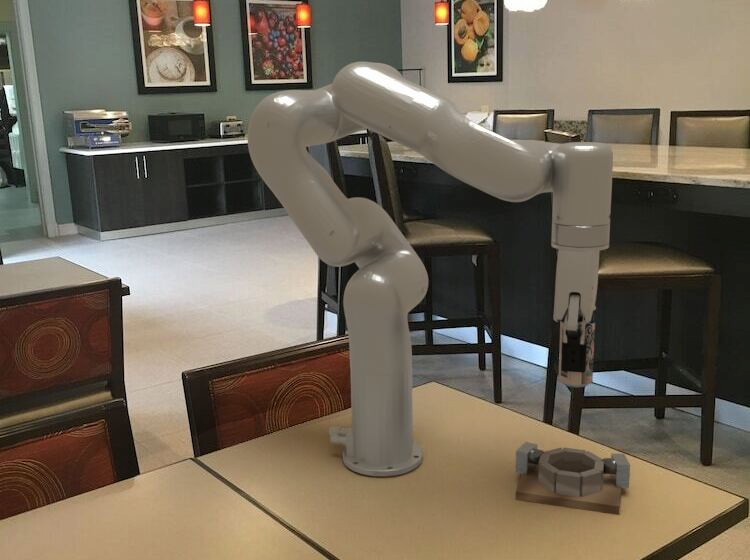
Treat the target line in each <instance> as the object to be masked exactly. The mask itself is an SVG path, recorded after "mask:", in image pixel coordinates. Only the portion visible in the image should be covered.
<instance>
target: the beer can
mask: <svg viewBox="0 0 750 560" xmlns="http://www.w3.org/2000/svg"><path fill="white" fill-rule="evenodd" d="M580 299H581V297H580ZM596 311H597V306H596V305H595V306H594V310H593V314H592V318H591V321H590V322H589V323H587V324H586V330H585V343H586V344H587V351H586V370H585V372H584V373H581V372H569V371H563V370H562V369H561V361H562V342H563V338H564V321H565V314H564V316H563V318H562V320H559V322H560V323H559V325H560V326H559V351H558V352H559V353H558V377H557V380H558V381H559V382H560V383H562V384H563V385H564V386H566V387H569V388H570V387H571V388H584V387H587V386H588V385H590V384H592V383H593V382H594V380H593V376H594V352H595V336H596V335H595V333H596V331H595V330H596ZM578 321H583V317H579V318H578ZM578 329H580V331H581V326H578Z"/></svg>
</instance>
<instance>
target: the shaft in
mask: <svg viewBox="0 0 750 560" xmlns="http://www.w3.org/2000/svg"><path fill="white" fill-rule="evenodd" d="M543 452H545V451H544V450H542V449H538V443H533V442H531V441H530V442H529V441H525V442H524V443H523V444H521V446H520V447H518V448H517V449H516V450H515V473H517V474H520V475H522V474H524V475H528V474H529V473H530V472H531V471H532V470H533V469H534V468H535V467H536V466H537V465H539V460H540V457H541V454H542V453H543Z"/></svg>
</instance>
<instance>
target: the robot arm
mask: <svg viewBox="0 0 750 560" xmlns="http://www.w3.org/2000/svg"><path fill="white" fill-rule="evenodd" d="M457 108H458V107H456V105H455V104H454V103H453V101H451V100H450V99H449V98H448V97H446V96H444V95H442V94H440V93H437V92H436V91H433V90H431V89H428V88H426V87H424V86H421V85H419V84H417V83H415V82H413V81H411V80H409V79H406V78H404V76H403V75H402V74H401V72H400V71H399V70H398V69H396V68H395V67H394V66H391V65H390V64H389V65H388V64H386V63H382V62H371V61H356V62H351V63H349V64H347V65H345V66H343V68H341V69H340V70H339V71H338V72H337V74H336V75H335V77H334V78H333V81H332V83H330V84H327V85H325V86H322V87H320V88H317V89H311V90H310V89H307V90H306V89H289V90H288V89H287V90H281V91H280V90H279V91H277V92H274V93H271V94H270V95H269V94H268V95H267V96H265V97H264V98H263V99H262V100H261V101H260V102H259V103H258V104H257V105H256V107H255V108H254V110H253V112H252V113H251V116H250V119H249V123H248V128H247V147H248V152H249V156H250V159H251V161H252V164H253V166H254V168H255V169H256V171H257V173H258V175H259V176H260V177H261V179H262V180H263V182H264V183H265V184H266V185H267V187H268V188H269V190H270V191H271V192H272V193H273V194H274V196H275V197H276V199H277V200H278V201H279V203H280V204H281V206H282V207H283V208H284V210H285V211H286V213H287V215H288V216H289V218H290V219H291V221H292V222H293V224H294V225H295V226H296V227H297V229H298V230H299V232H300V234H301V235H302V236H303V238H305V241H306V242H307V243H308V244H309V246H310V248H311V249H312V250H313V251H314V253H315V254H316V255H317V257H318V258H319V259H320V260H321V262H324V263H325V264H326V265H328V266H331V267H335V268H336V267H338V268H339V267H345V266H349V265H351V264H353V263H355V264H356V266H357V267H358V270H356V272H355V273H353V275H352V276H351V278H350V279H349V280H348V281H347V284H346V286H345V289H344V291H343V292H344V293H343V298H342V299H343V301H342V302H343V313H344V317H345V322H346V327H347V336H348V345H349V367H350V368H349V369H350V371H349V372H350V400H351V401H350V402H351V403H350V405H351V409H350V410H351V426H349V427H346V428H345V427H342V426H337V425H335V426H333V425H331V426H330V427H329V429H328V436H329V438H330V439H329V441H330V444H332V445H333V444H334V445H343V446H344V450H343V452H342V462H343V464H344V465H345V466H346V467H347V468H348V469H349V470H351V471H353V472H356V474H360V475H364V476H370V477H380V478H381V477H394V476H399V475H403V474H406V473H409V472H411V471H413V470H415V469H416V468H418V467H419V466H420V465H421V463H422V462H423V459H424V456H423V454H424V452H423V449H422V447H420V445H419V444H417V443H416V442H415V441H414V439H413V438H414V437H413V436H414V435H413V434H414V431H413V430H414V429H413V427H414V426H413V420H414V419H413V414H414V412H413V351H412V350H413V349H412V339H411V333H410V328H409V323H408V322H409V321H408V315H409V313H410V312H411V311H412V310H413V309H414V308H415V307H417V306H418V305H419V304H420V303H421V302H422V300H423V299H424V298H425V296H426V295H427V292H428V288H429V275H428V272H427V270H426V267H425V265H424V263H423V261H422V259H421V258H420V257H419V255H418V254H417V252H416V251H415V250H414V248H413V246H412V245H411V244H410V242H409V241H408V240H407V238H406V236H404V234H403V233H402V231H401V229H399V227H398V226H397V224H396V223H395V222H394V220H393V219H392V217H391V216H390V215H389V213H388V212H387V211H386V210H385V209H384V208H383V207H382V206H380V205H379V204H378V203H377V202H375V201H373V200H371V199H369V198H366V197H360V196H359V197H357V196H356V197H351V198H348V197H347V196H346V195H345V194H344V193H343V192H342V191H341V189H340V188H339V187H338V185H337V184H336V183H335V182H334V180H333V178H332V176H331V175H330V174H329V172H328V171H327V170H326V169H325V168H324V167H323V166H322V164H320V163H319V162H318V161H317V160H316V159H315V158H314V157H312V155H311V154H310V153H309V152H308V150H307V147H315V146H321V145H324V144H328V143H332V142H335V141H337V140H339V139H340V140H341V139H342V138H345V137H347V136H350V135H352V134H355V133H358V132H361V131H363V130H366V129H368V130H370V131H371V132H373V133H376V134H378V135H380V136H383V137H384V138H386V139H389V140H391V141H393V142H395V143H397V144H399V145H401V146H403V147H405V148H407V149H409V150H411V151H413V152H415V153H417V154H419V155H421V156H422V157H423V158H424V159H426V160H427V161H429V162H430V163H432V164H433V165H435V166H437V167H438V168H440V170H442V171H444V172H445V173H447V174H448V175H450V176H452V177H453V178H456V179H457V180H458V181H461V182H463V183H465V184H467V185H469V186H471V187H473V188H475V189H478V190H479V191H482V192H483V193H486V194H488V195H490V196H492V197H495V198H497V199H499V200H502V201H506V202H511V203H521V202H525V201H528V200H530V199H532V198H534V197H536V196H537V195H540V194H543V193H552V212H551V214H552V216H551V217H552V218H551V244H550V245H551V247H552V248H554V249H556V250H558V252H557V258H556V259H557V261H556V271H555V285H554V286H555V287H554V289H555V290H554V302H553V303H554V305H553V306H554V307H553V321H555V322H556V323H559V322H560V320H562V318H563V316H564V314H565V321H564V338H563V342H562V361H561V369H562V370H563V371H569V372H581V373H584V372H585V370H586V351H587V344H586V343H585V330H586V324H587V323H589V322H590V321H591V318H592V314H593V310H594V306H596V301H597V292H598V284H599V270H600V269H599V267H600V251H605V250H607V249H609V248H610V234H611V233H610V231H611V209H612V208H611V207H612V193H613V192H612V189H613V186H612V185H613V170H614V169H613V168H614V153H613V152H614V151H613V150H612V148H611V146H609V144H607V143H604V142H595V141H575V142H574V141H573V142H566V143H558V142H548V141H542V140H535V139H526V140H525V139H524V140H521V141H515V140H513V139H509V138H508V137H505V136H502V135H501V134H498V133H497V132H494V131H492V130H491V129H488V128H485V127H484V126H482V125H480V124H478V123H476V122H474V121H472V120H471V119H469V118H468V117H466V116H465V115H463V114H462V113H461V112H460V111H459V109H457ZM580 297H581V299H580ZM579 317H583V321H578V318H579ZM578 326H581V331H580V329H578Z"/></svg>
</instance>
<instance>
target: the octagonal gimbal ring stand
mask: <svg viewBox="0 0 750 560" xmlns="http://www.w3.org/2000/svg"><path fill="white" fill-rule="evenodd" d="M621 495H622V488H616V487H615V485H614V482H613V480H612V478H611V476H610V474H604V461H603V458H601V457H599V456H598V455H596V454H594V453H593V452H591V451H589V450H587V451H586V449H578V448H570V447H563V448H562V447H558V448H554V449H550V450H546V451H544V452H543V453H542V454H541V457H540V460H539V465H537V466H536V467H535V468H534V469H533V470H532V471H531V472H530V473H529V474H528V475H524V474H521V477H520V479H519V482H518V484H517V487H516V490H515V500H518V501H525V502H532V503H539V504H546V505H550V506H551V505H552V506H558V507H559V506H560V507H565V508H571V509H578V510H586V511H593V512H599V513H606V514H613V515H620V508H621V499H622V498H621V497H622V496H621Z"/></svg>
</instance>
